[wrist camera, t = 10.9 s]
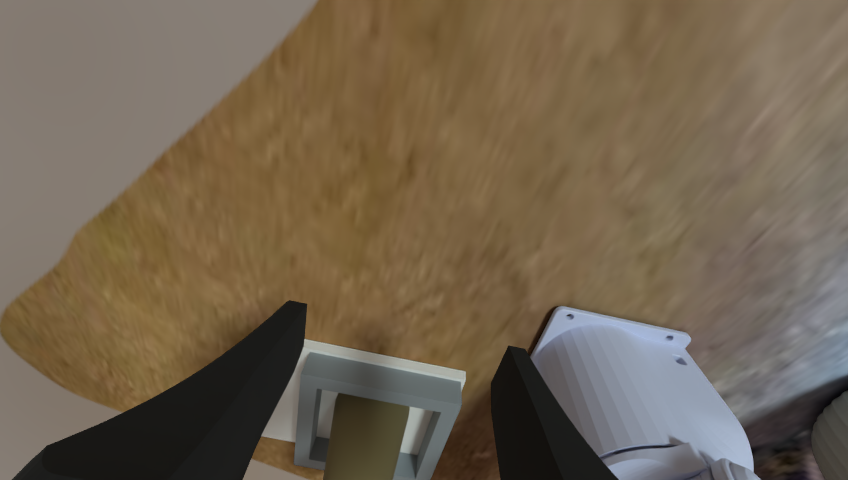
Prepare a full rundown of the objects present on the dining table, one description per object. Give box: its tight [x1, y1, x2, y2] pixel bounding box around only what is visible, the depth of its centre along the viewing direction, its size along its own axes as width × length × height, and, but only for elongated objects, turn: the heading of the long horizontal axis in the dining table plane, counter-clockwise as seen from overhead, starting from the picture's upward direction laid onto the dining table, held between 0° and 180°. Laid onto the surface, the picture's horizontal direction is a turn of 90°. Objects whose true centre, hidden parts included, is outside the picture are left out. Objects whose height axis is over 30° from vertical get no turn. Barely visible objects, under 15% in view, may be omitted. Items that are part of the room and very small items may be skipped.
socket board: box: [261, 339, 466, 480], centre depth 30 cm, size 16×12×3 cm
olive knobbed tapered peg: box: [323, 393, 410, 480], centre depth 25 cm, size 6×6×11 cm
